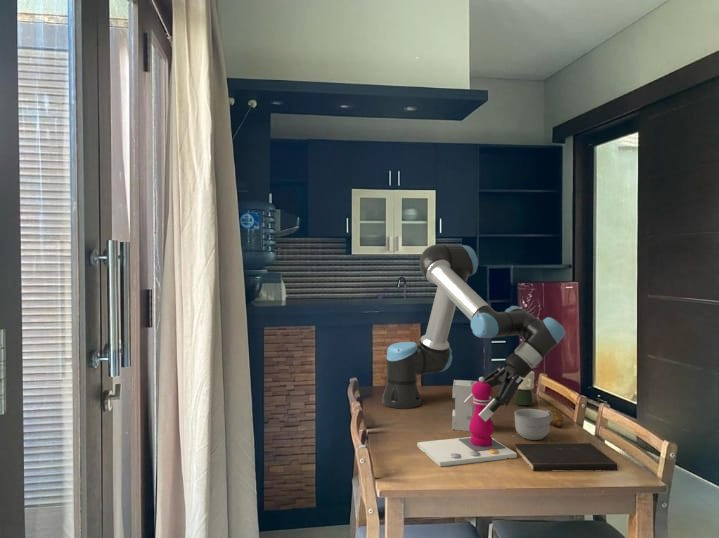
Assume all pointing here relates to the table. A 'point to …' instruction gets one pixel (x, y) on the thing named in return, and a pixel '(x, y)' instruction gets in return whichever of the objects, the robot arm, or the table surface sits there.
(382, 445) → the table surface
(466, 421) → the circuit breaker
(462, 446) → the board
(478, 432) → the pepper mill
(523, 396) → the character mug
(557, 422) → the croissant
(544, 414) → the teacup
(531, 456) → the hardcover book
